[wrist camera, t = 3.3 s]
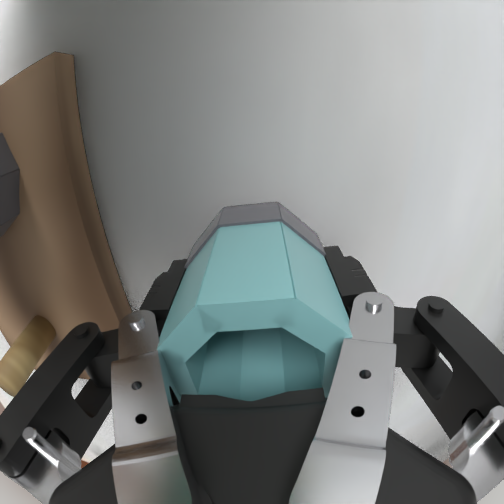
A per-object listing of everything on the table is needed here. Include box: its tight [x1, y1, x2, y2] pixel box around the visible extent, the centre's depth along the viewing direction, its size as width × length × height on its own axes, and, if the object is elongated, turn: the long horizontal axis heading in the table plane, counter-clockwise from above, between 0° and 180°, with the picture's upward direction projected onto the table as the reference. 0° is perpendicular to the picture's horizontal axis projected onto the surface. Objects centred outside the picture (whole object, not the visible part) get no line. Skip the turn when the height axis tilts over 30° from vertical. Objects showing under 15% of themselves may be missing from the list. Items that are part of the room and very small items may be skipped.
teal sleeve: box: [157, 202, 353, 401], centre depth 10 cm, size 5×5×6 cm
